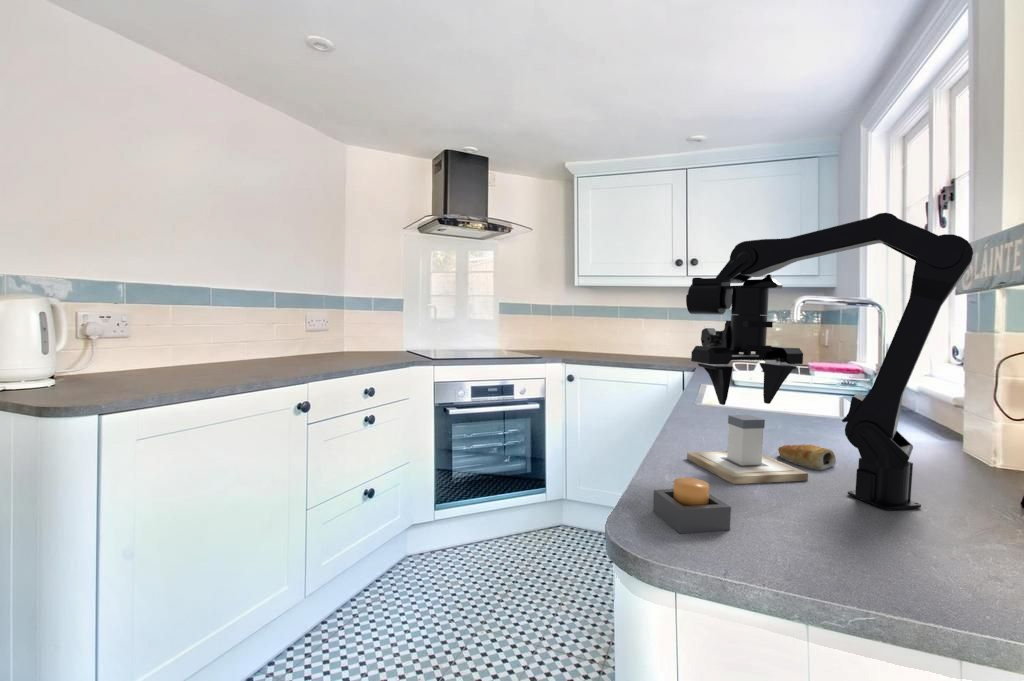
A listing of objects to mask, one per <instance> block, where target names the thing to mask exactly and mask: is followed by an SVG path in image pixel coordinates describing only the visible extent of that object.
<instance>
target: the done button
mask: <svg viewBox="0 0 1024 681" xmlns="http://www.w3.org/2000/svg"><path fill="white" fill-rule="evenodd" d="M673 489H674V492H673V499H674V500H676V501H677V502H678V503H680V504H681V505H684V506H698V505H708V503H709V494H710V483H708V482H707V481H704V480H703V479H702V480H701V479H697V478H692V477H679V478H675V479H674V480H673Z"/></svg>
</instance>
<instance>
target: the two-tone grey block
mask: <svg viewBox="0 0 1024 681" xmlns="http://www.w3.org/2000/svg"><path fill="white" fill-rule="evenodd" d="M765 422H766V419H765V418H764V419H763V418H760V417H758V416H754V415H752V414H729V415H728V416H727V424H728V431H727V432H728V434H727V451H728V452H727V459H729V460H731V461H733V462H735V463H737V464H739V465H762V455H763V444H764V442H763V441H764V429H765V427H766V426H765V424H766V423H765Z"/></svg>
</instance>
